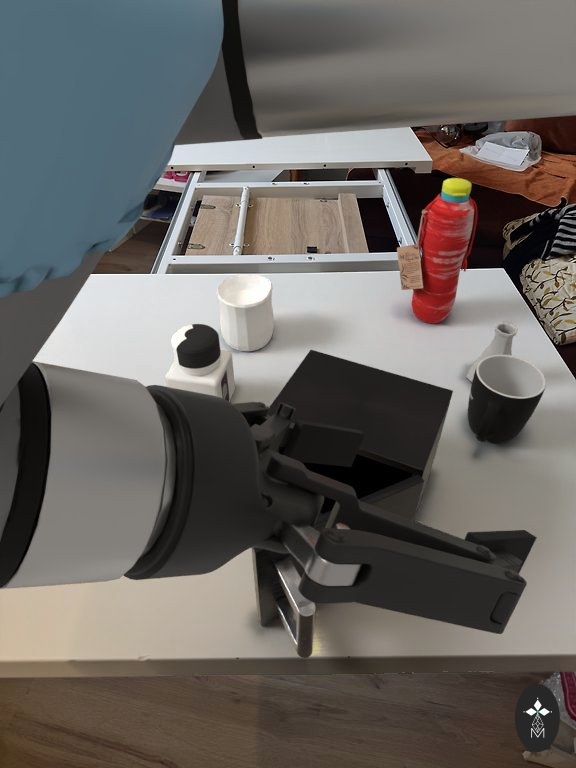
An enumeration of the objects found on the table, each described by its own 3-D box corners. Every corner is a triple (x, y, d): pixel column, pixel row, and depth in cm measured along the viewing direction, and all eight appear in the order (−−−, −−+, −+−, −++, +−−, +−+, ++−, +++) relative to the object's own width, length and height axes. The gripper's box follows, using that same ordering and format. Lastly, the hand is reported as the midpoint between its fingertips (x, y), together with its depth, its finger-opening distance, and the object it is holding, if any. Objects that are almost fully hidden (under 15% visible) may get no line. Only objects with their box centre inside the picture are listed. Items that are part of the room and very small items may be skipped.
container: (235, 388, 84) (229, 321, 75) (221, 423, 78) (212, 354, 70) (189, 382, 85) (177, 314, 76) (171, 415, 80) (157, 347, 71)
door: (434, 603, 58) (463, 527, 48) (284, 680, 52) (283, 612, 42) (398, 552, 62) (418, 473, 53) (257, 618, 57) (250, 543, 47)
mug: (473, 397, 82) (490, 346, 75) (532, 422, 78) (555, 370, 71) (441, 445, 75) (456, 393, 68) (504, 475, 71) (526, 422, 64)
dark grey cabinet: (402, 551, 63) (423, 470, 53) (267, 497, 69) (263, 415, 59) (430, 472, 71) (453, 390, 61) (308, 430, 77) (310, 349, 67)
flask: (457, 378, 86) (471, 327, 79) (482, 358, 89) (497, 308, 83) (497, 400, 82) (516, 349, 75) (522, 379, 85) (541, 328, 79)
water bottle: (392, 328, 96) (414, 191, 79) (386, 303, 102) (405, 171, 85) (459, 328, 96) (495, 191, 79) (449, 303, 102) (481, 171, 85)
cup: (265, 315, 99) (263, 268, 92) (283, 346, 92) (283, 298, 86) (215, 325, 97) (209, 278, 90) (230, 358, 90) (225, 310, 83)
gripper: (23, 431, 30) (291, 459, 44) (281, 889, 12) (592, 687, 26) (62, 306, 29) (324, 376, 43) (411, 605, 11) (662, 555, 25)
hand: (426, 494), depth 35 cm, fingers open, 13 cm apart
